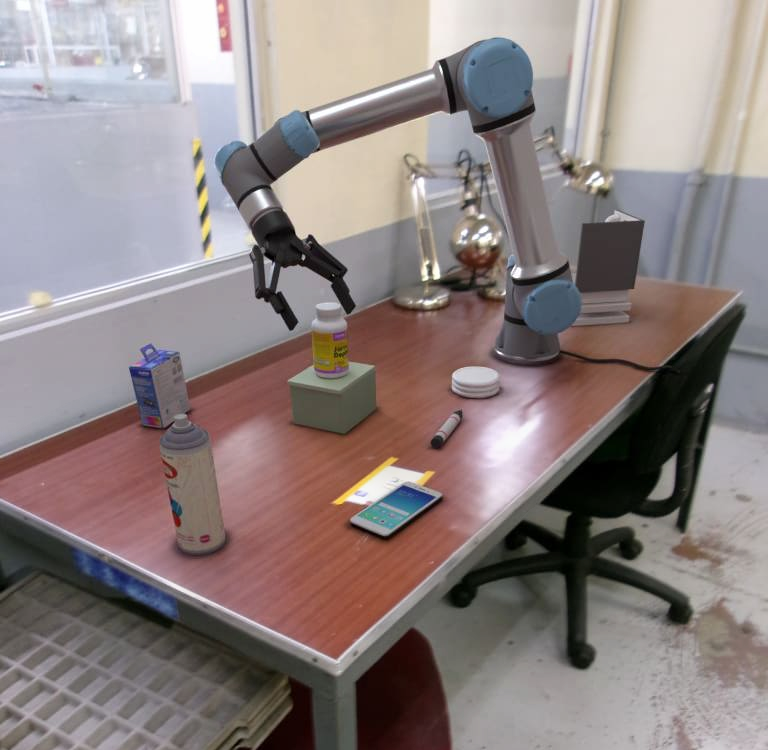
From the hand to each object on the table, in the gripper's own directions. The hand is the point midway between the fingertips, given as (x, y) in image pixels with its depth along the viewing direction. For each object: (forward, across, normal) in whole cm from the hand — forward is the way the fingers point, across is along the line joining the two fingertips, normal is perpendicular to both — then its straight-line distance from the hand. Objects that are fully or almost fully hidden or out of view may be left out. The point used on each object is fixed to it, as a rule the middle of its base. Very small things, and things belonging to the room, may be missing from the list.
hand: (323, 318), depth 137 cm
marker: (+29, -11, +2) cm, 31 cm away
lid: (+9, 0, -7) cm, 11 cm away
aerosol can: (+29, +42, +2) cm, 51 cm away
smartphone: (+39, +16, +12) cm, 44 cm away
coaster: (+22, -30, -5) cm, 38 cm away
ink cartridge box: (-2, +24, -29) cm, 38 cm away
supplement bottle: (+8, 0, -6) cm, 11 cm away
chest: (+15, 0, -13) cm, 19 cm away
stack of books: (+13, -90, -14) cm, 92 cm away
